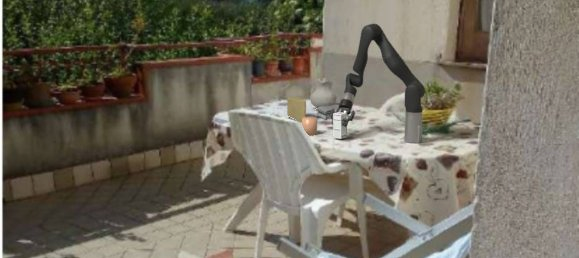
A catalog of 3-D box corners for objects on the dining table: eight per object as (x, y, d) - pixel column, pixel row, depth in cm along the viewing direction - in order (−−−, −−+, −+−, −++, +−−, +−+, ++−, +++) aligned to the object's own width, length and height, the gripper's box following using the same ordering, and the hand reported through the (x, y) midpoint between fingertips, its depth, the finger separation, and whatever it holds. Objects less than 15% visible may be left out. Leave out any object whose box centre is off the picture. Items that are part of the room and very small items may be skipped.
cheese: (311, 123, 380) (311, 100, 377) (297, 124, 376) (297, 101, 373) (300, 117, 400) (300, 95, 397) (286, 118, 397) (286, 96, 394)
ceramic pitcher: (308, 108, 441) (306, 76, 436) (333, 106, 443) (332, 74, 438) (313, 113, 420) (310, 79, 415) (339, 111, 422) (337, 77, 417)
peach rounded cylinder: (319, 133, 347) (319, 117, 345) (313, 136, 339) (313, 119, 337) (305, 132, 351) (306, 116, 349) (299, 134, 343) (299, 118, 341)
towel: (315, 117, 403) (315, 105, 401) (338, 115, 410) (338, 104, 408) (325, 120, 389) (325, 109, 387) (349, 118, 396) (349, 107, 395)
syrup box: (341, 139, 328) (341, 114, 325) (332, 137, 332) (333, 112, 329) (347, 137, 332) (347, 112, 329) (338, 136, 336) (339, 111, 333)
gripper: (333, 97, 338) (325, 120, 330) (356, 99, 331) (348, 122, 323) (337, 105, 343) (329, 128, 336) (360, 106, 337) (352, 130, 329)
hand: (338, 125), depth 329 cm, fingers closed on syrup box, 7 cm apart
